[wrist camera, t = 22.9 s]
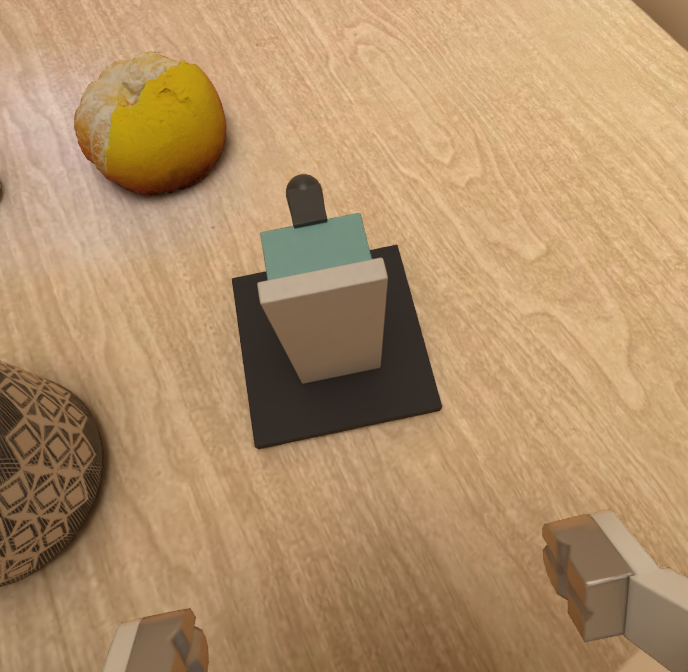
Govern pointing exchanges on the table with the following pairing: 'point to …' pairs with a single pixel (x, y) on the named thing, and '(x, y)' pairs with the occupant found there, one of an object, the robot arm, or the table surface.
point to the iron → (323, 288)
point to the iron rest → (338, 392)
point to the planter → (42, 470)
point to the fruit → (151, 124)
